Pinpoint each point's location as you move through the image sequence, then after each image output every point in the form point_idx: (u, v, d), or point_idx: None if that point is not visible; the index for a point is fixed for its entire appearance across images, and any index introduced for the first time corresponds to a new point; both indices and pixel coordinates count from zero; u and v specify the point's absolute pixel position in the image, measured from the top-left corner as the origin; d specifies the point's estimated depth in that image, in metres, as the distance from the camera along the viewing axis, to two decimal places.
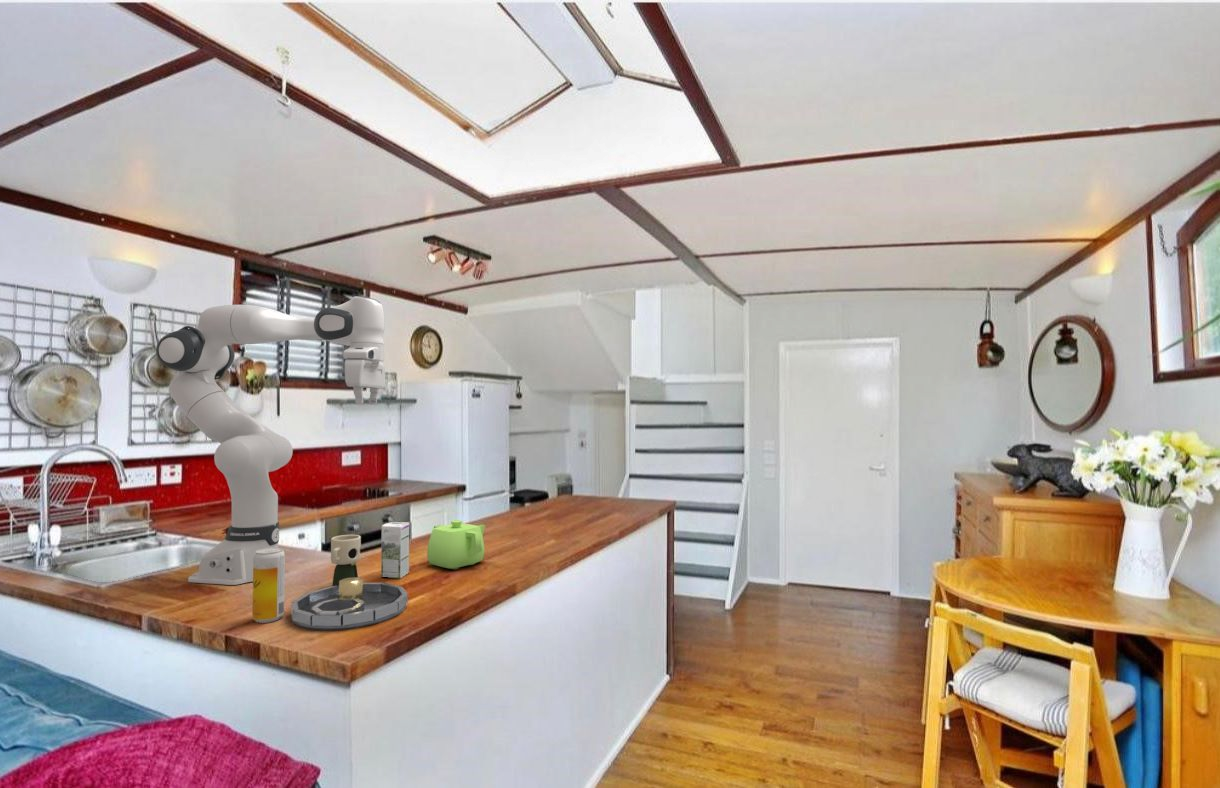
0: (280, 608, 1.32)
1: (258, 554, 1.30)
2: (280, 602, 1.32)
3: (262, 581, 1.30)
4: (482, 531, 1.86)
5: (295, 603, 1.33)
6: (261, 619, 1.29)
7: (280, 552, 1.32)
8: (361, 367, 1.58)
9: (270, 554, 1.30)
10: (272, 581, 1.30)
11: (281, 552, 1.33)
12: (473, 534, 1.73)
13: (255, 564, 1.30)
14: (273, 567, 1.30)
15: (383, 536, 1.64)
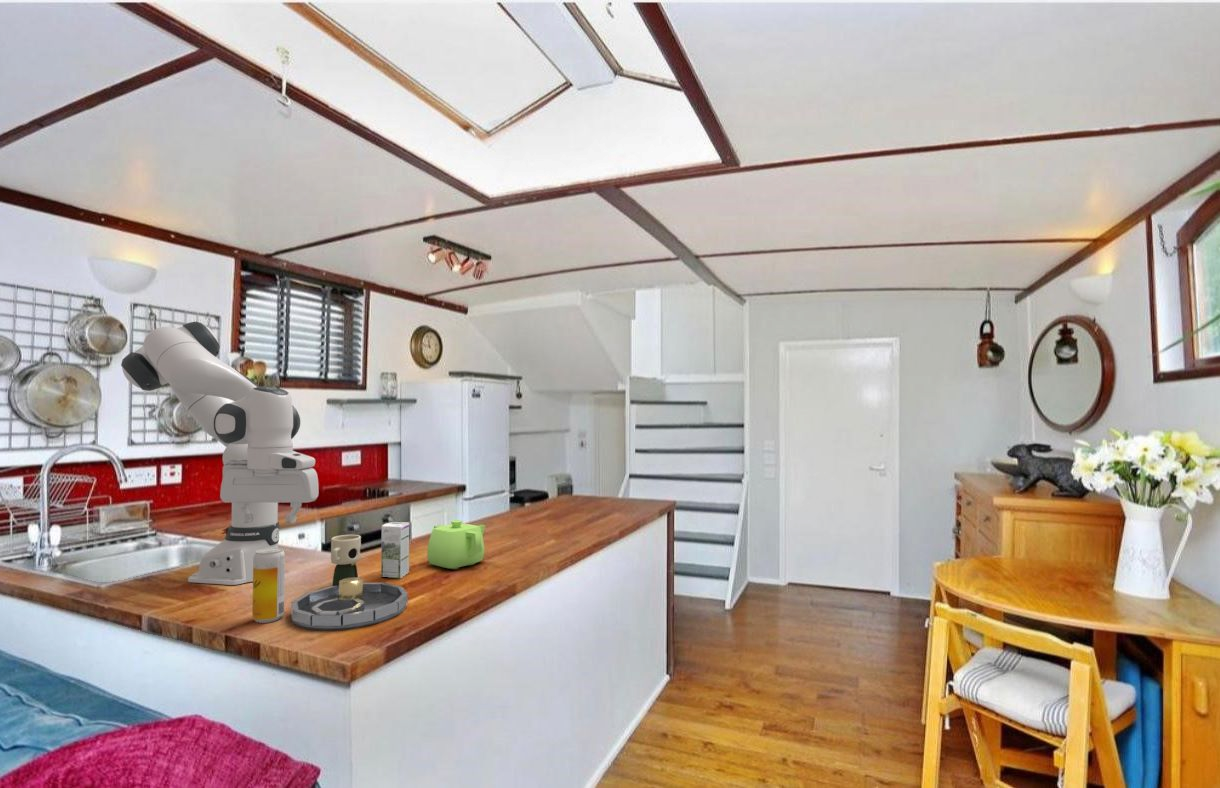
0: (280, 608, 1.32)
1: (258, 554, 1.30)
2: (280, 602, 1.32)
3: (262, 581, 1.30)
4: (482, 531, 1.86)
5: (295, 603, 1.33)
6: (261, 619, 1.29)
7: (280, 552, 1.32)
8: None
9: (270, 554, 1.30)
10: (272, 581, 1.30)
11: (281, 552, 1.33)
12: (473, 534, 1.73)
13: (255, 564, 1.30)
14: (273, 567, 1.30)
15: (383, 536, 1.64)
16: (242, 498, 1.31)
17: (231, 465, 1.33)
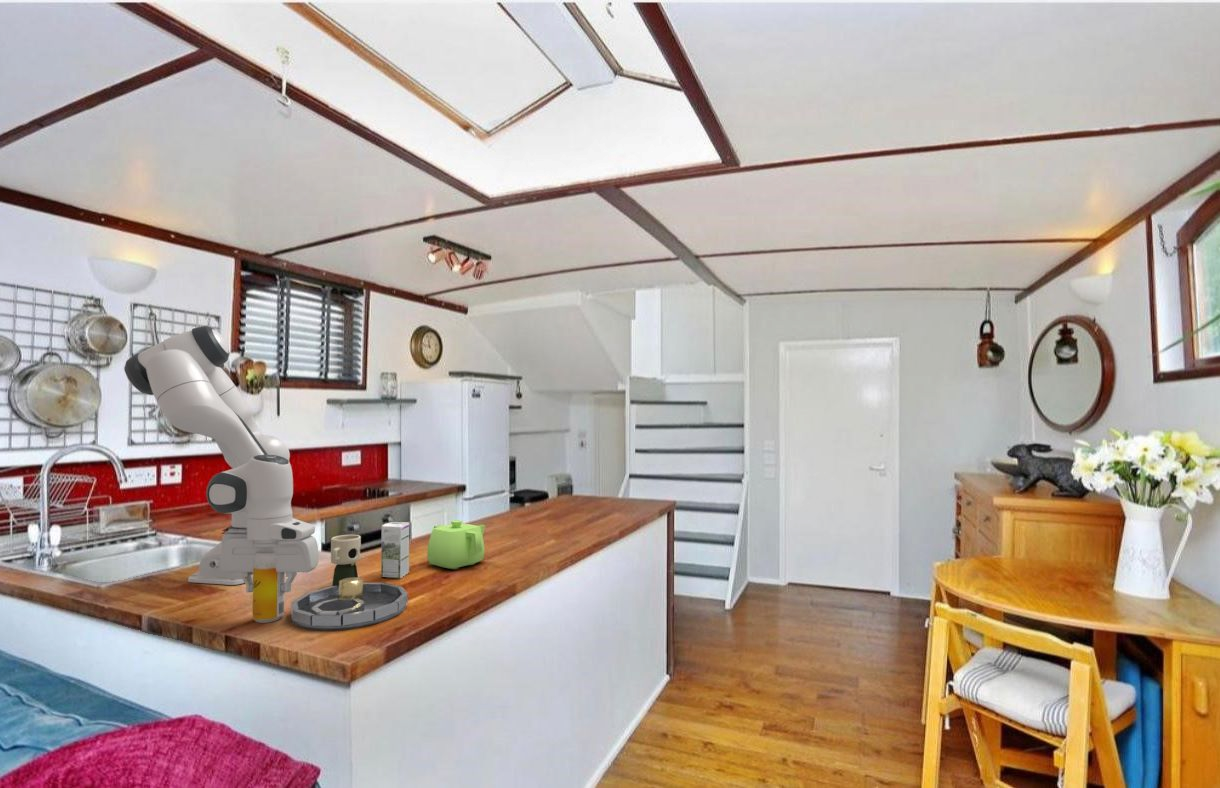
0: (280, 607, 1.32)
1: (258, 554, 1.30)
2: (280, 602, 1.32)
3: (263, 581, 1.30)
4: (482, 531, 1.86)
5: (295, 603, 1.33)
6: (261, 619, 1.29)
7: None
8: None
9: (270, 554, 1.30)
10: (272, 581, 1.30)
11: None
12: (473, 534, 1.73)
13: (255, 564, 1.30)
14: (273, 567, 1.30)
15: (383, 536, 1.64)
16: (241, 568, 1.31)
17: (230, 534, 1.32)
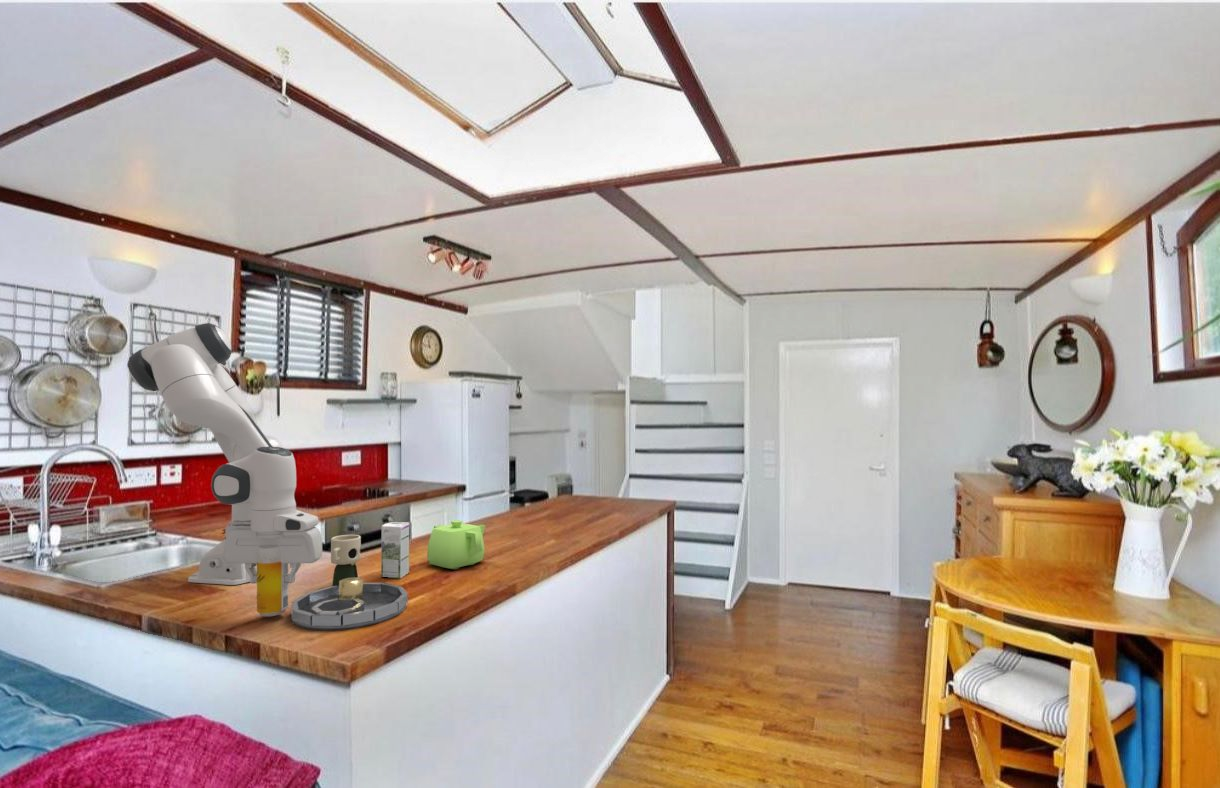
0: (284, 601, 1.32)
1: (262, 548, 1.31)
2: (284, 595, 1.32)
3: (267, 575, 1.30)
4: (482, 531, 1.86)
5: (295, 603, 1.33)
6: (266, 613, 1.30)
7: None
8: None
9: (274, 548, 1.31)
10: (276, 575, 1.31)
11: None
12: (473, 534, 1.73)
13: (259, 558, 1.30)
14: (277, 561, 1.31)
15: (383, 536, 1.64)
16: (245, 559, 1.31)
17: (233, 525, 1.33)
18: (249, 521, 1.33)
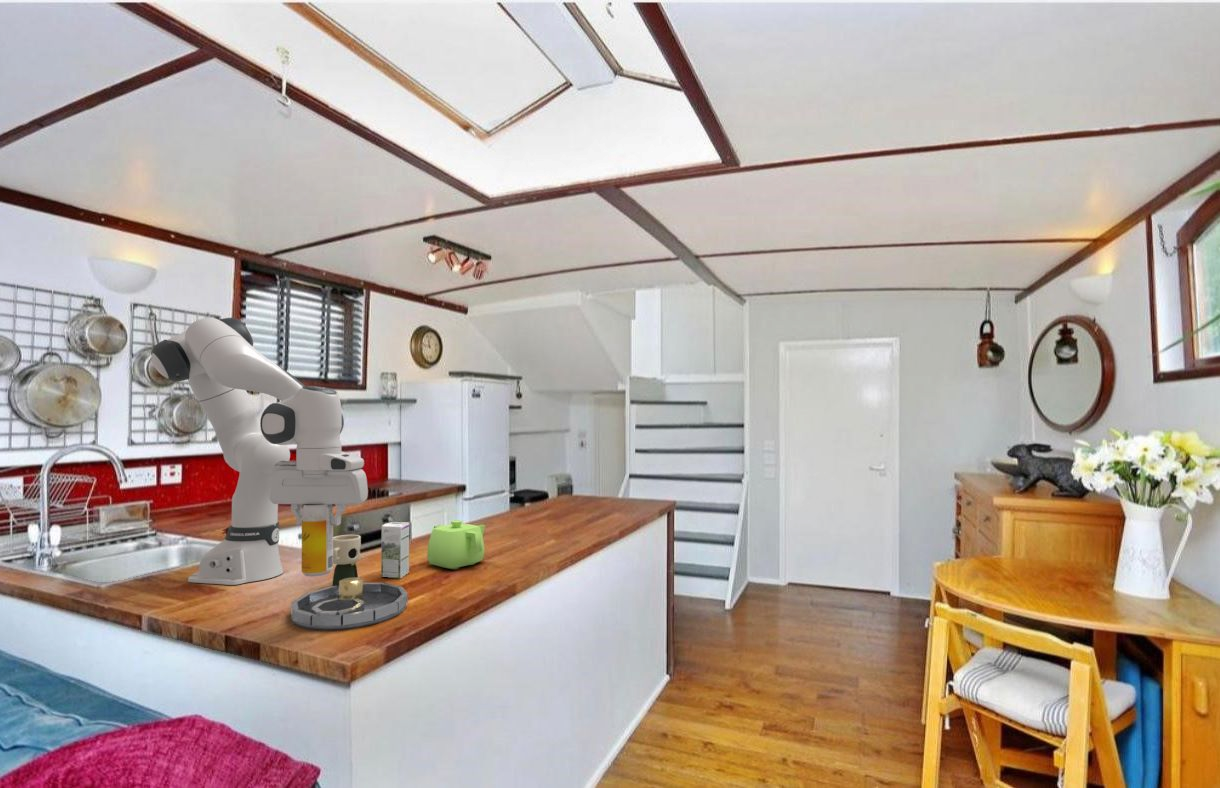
0: (329, 561, 1.29)
1: (307, 506, 1.27)
2: (329, 555, 1.29)
3: (312, 534, 1.26)
4: (482, 531, 1.86)
5: (295, 603, 1.33)
6: (311, 573, 1.26)
7: (328, 505, 1.29)
8: None
9: (319, 506, 1.27)
10: (321, 534, 1.27)
11: (329, 505, 1.29)
12: (473, 534, 1.73)
13: (304, 516, 1.27)
14: (322, 520, 1.27)
15: (383, 536, 1.64)
16: (291, 500, 1.28)
17: (280, 466, 1.30)
18: (295, 461, 1.30)
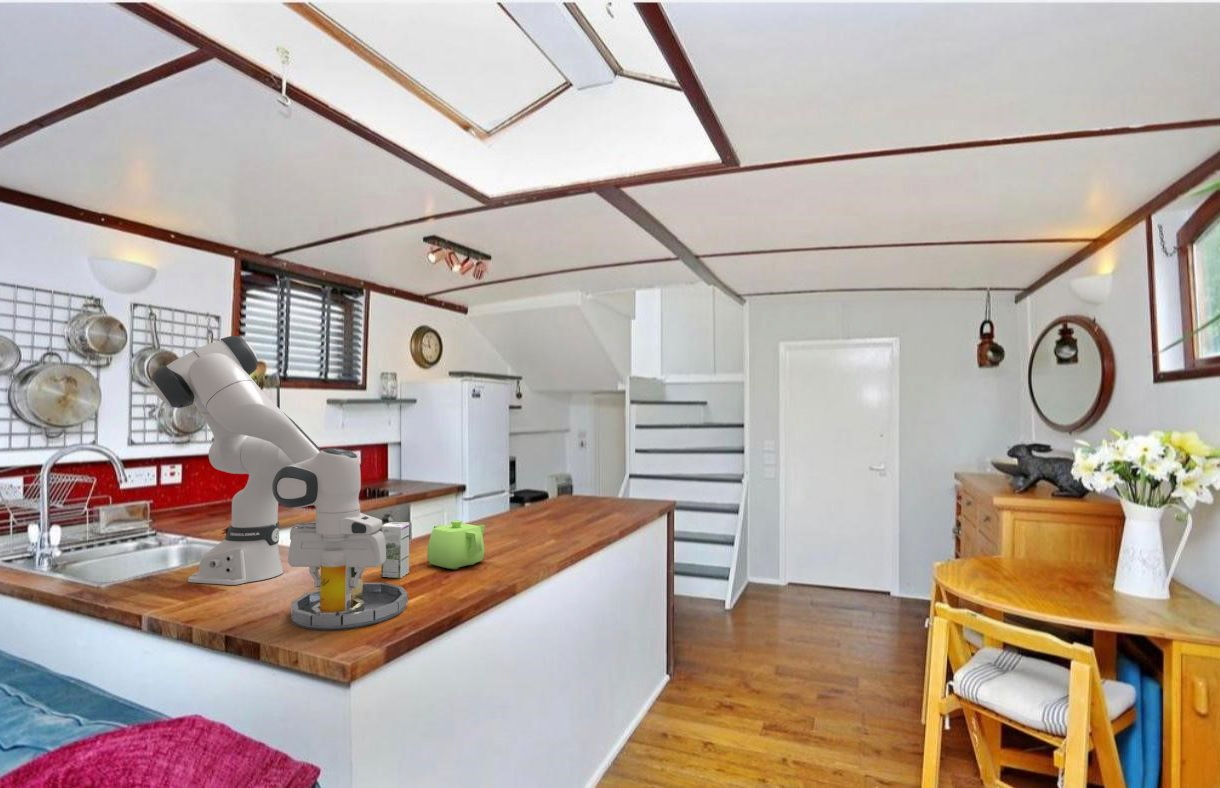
0: (347, 606, 1.30)
1: (326, 552, 1.28)
2: (347, 600, 1.30)
3: (331, 579, 1.28)
4: (482, 531, 1.86)
5: (295, 603, 1.33)
6: None
7: None
8: None
9: (338, 552, 1.29)
10: (340, 579, 1.28)
11: None
12: (473, 534, 1.73)
13: (323, 562, 1.28)
14: (342, 565, 1.29)
15: None
16: (310, 562, 1.29)
17: (298, 528, 1.31)
18: (314, 524, 1.31)
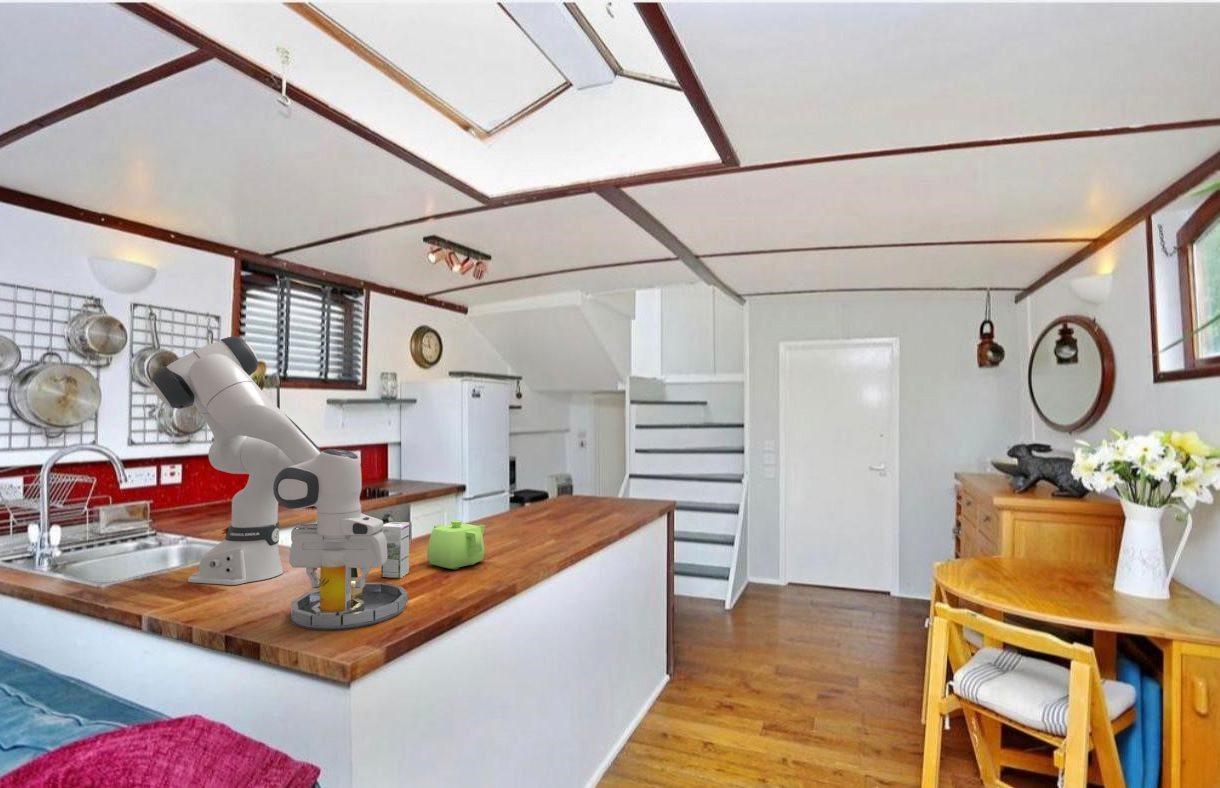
0: (347, 606, 1.30)
1: (326, 552, 1.28)
2: (347, 600, 1.30)
3: (331, 579, 1.28)
4: (482, 531, 1.86)
5: (295, 603, 1.33)
6: None
7: None
8: None
9: (338, 552, 1.28)
10: (340, 579, 1.28)
11: None
12: (473, 534, 1.73)
13: (323, 562, 1.28)
14: (342, 565, 1.29)
15: None
16: (311, 563, 1.29)
17: (299, 529, 1.31)
18: (315, 524, 1.31)
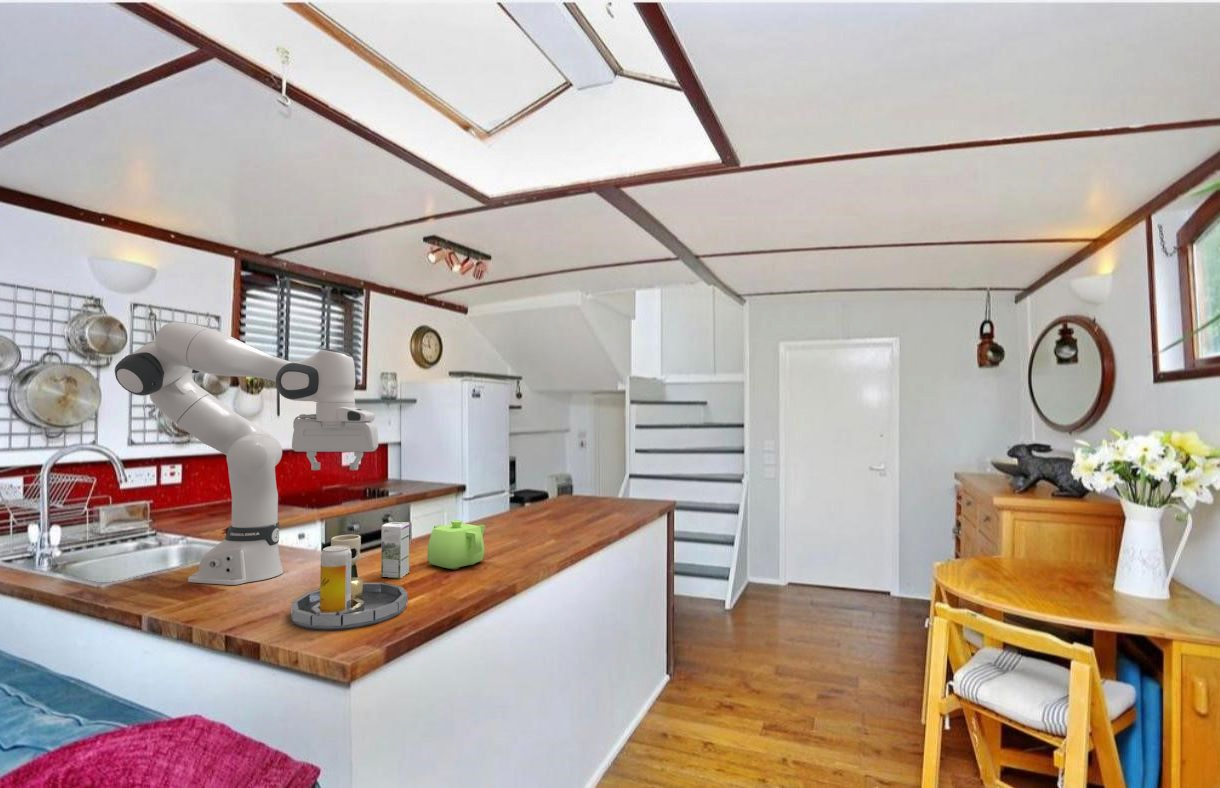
0: (347, 606, 1.30)
1: (326, 552, 1.28)
2: (347, 600, 1.30)
3: (331, 579, 1.28)
4: (482, 531, 1.86)
5: (295, 603, 1.33)
6: None
7: (347, 550, 1.30)
8: None
9: (338, 552, 1.29)
10: (340, 579, 1.28)
11: (348, 550, 1.31)
12: (473, 534, 1.73)
13: (323, 562, 1.28)
14: (342, 565, 1.29)
15: (383, 536, 1.64)
16: (311, 447, 1.47)
17: (300, 418, 1.49)
18: (314, 415, 1.49)
